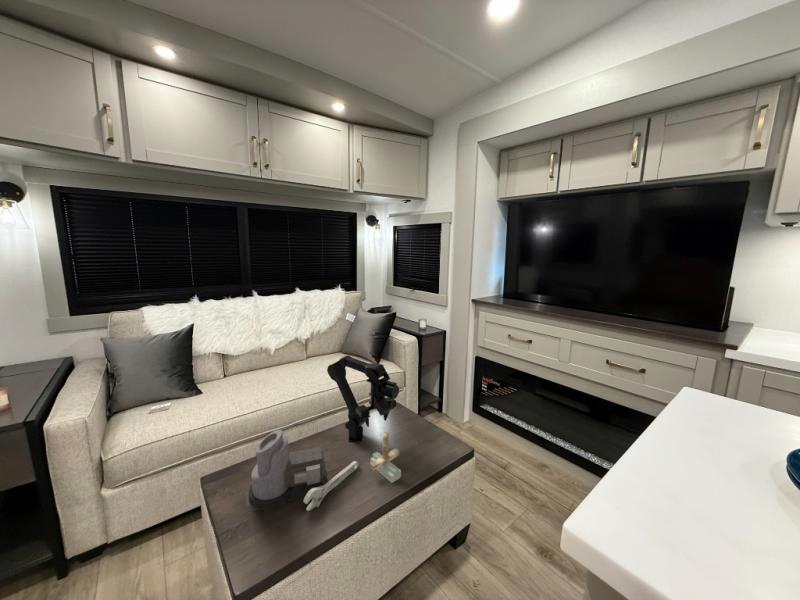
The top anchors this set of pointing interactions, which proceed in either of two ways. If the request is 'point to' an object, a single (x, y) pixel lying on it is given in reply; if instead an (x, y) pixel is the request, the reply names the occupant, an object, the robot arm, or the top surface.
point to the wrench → (327, 487)
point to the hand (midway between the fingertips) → (376, 423)
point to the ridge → (387, 469)
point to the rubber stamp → (384, 454)
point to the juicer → (283, 473)
